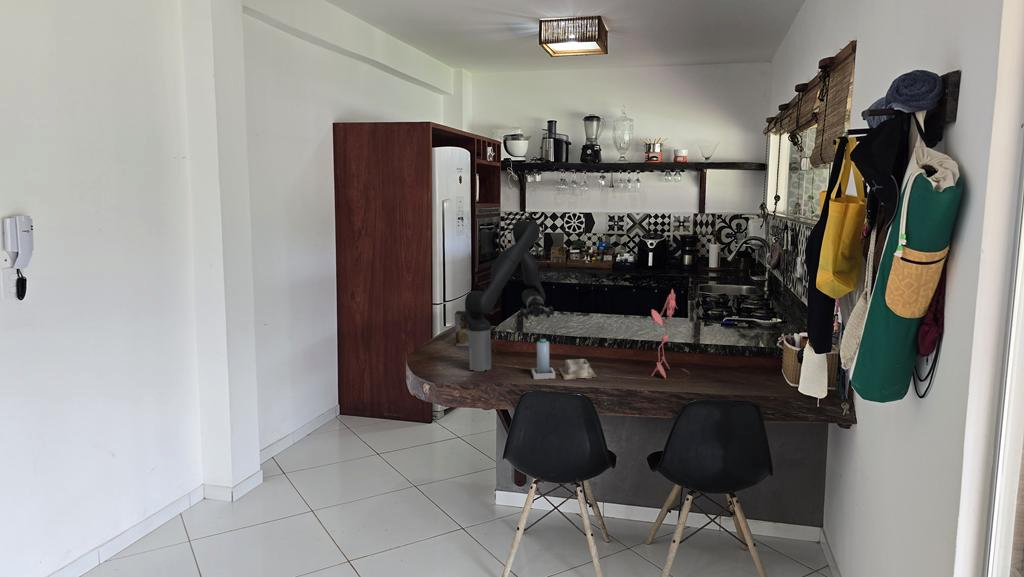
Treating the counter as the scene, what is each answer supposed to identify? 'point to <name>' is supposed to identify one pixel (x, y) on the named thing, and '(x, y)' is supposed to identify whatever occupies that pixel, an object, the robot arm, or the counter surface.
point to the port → (577, 369)
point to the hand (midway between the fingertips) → (537, 316)
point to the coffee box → (461, 329)
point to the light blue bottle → (542, 356)
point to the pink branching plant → (658, 319)
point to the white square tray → (543, 374)
